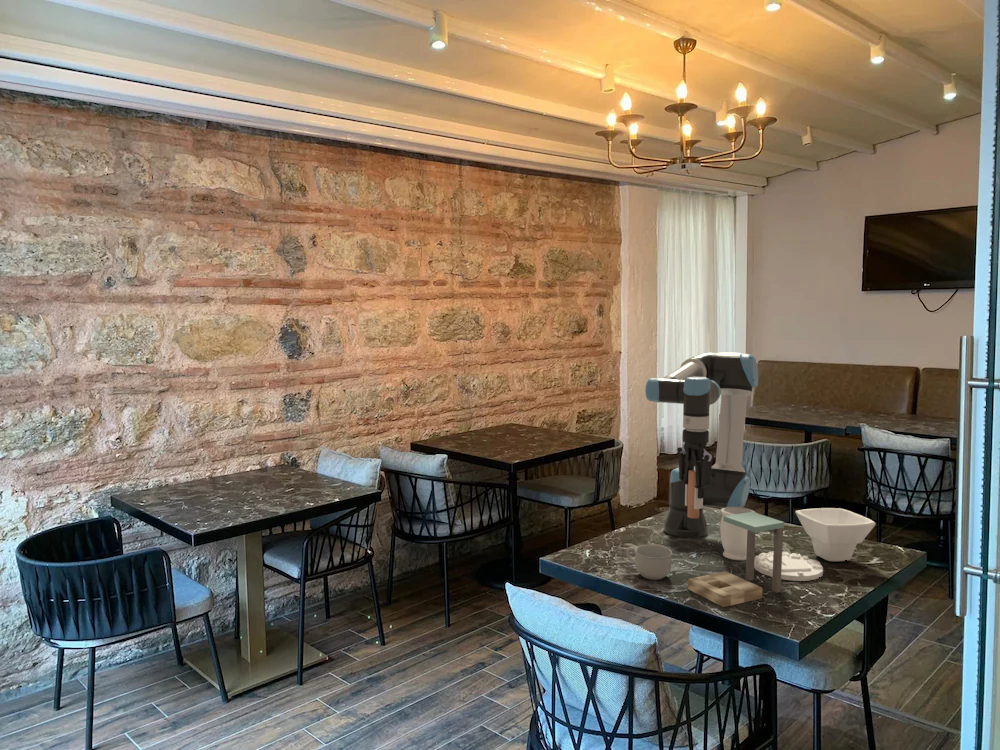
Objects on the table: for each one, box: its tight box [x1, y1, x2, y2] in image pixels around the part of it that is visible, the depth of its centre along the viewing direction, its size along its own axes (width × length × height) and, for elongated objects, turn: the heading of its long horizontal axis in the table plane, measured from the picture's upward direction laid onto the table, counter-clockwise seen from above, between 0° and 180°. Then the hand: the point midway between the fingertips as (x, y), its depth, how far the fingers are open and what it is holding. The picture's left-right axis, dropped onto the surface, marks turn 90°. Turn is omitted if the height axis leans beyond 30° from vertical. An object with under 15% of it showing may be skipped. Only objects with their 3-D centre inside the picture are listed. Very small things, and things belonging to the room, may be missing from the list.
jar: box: [719, 507, 756, 561], centre depth 236 cm, size 11×10×15 cm
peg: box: [687, 470, 699, 519], centre depth 220 cm, size 3×3×14 cm
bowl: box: [795, 507, 876, 562], centre depth 234 cm, size 19×19×14 cm
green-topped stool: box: [723, 511, 785, 594], centre depth 209 cm, size 12×11×20 cm
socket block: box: [687, 570, 763, 608], centre depth 205 cm, size 14×14×3 cm
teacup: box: [625, 543, 673, 581], centre depth 219 cm, size 14×11×8 cm
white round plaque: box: [754, 550, 824, 582], centre depth 224 cm, size 20×20×3 cm
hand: (693, 506), depth 220 cm, fingers closed on peg, 3 cm apart
